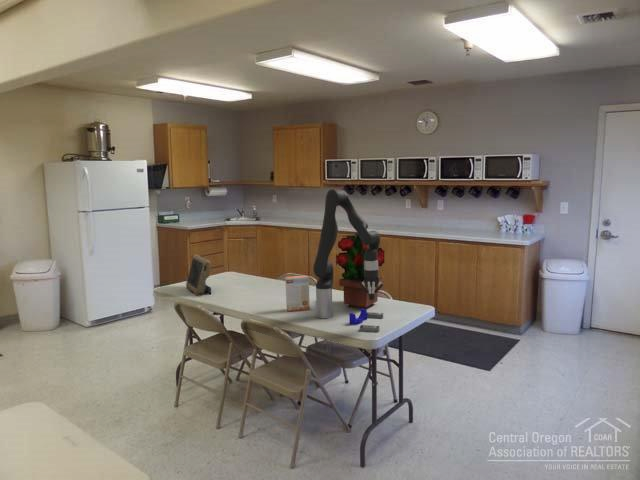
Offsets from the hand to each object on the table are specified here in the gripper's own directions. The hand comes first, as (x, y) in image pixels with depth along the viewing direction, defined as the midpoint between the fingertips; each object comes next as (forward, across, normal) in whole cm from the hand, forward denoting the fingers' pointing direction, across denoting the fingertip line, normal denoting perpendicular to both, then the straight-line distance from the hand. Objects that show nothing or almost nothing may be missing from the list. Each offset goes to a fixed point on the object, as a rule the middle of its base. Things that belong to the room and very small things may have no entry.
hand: (371, 300), depth 258 cm
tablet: (+13, -132, +67) cm, 148 cm away
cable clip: (+15, -8, +9) cm, 20 cm away
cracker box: (+14, -48, +28) cm, 58 cm away
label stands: (+15, -1, +7) cm, 17 cm away
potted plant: (+15, -11, +42) cm, 46 cm away
